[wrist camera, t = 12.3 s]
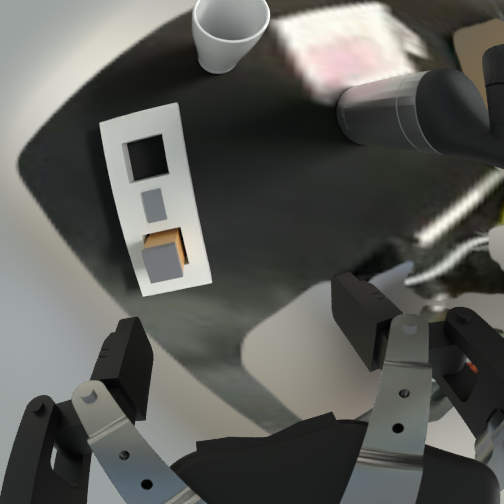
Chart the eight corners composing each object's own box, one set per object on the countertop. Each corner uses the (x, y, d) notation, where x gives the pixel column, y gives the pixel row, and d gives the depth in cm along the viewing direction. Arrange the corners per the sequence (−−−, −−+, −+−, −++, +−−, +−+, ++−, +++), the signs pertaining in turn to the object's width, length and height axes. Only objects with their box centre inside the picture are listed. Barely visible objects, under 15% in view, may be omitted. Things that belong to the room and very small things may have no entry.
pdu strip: (178, 105, 33) (177, 102, 30) (210, 273, 43) (212, 283, 40) (106, 124, 32) (98, 122, 29) (146, 286, 41) (142, 297, 38)
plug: (178, 225, 39) (174, 245, 32) (185, 252, 41) (183, 277, 33) (150, 231, 39) (141, 252, 31) (158, 258, 40) (150, 283, 33)
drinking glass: (244, 79, 34) (272, 45, 20) (192, 81, 32) (190, 45, 19) (243, 36, 31) (269, -15, 17) (192, 36, 30) (192, -17, 16)
